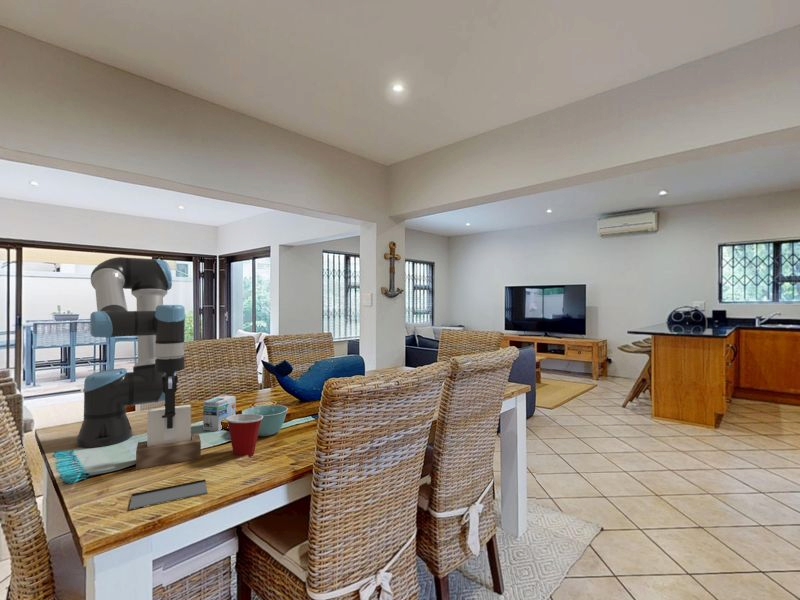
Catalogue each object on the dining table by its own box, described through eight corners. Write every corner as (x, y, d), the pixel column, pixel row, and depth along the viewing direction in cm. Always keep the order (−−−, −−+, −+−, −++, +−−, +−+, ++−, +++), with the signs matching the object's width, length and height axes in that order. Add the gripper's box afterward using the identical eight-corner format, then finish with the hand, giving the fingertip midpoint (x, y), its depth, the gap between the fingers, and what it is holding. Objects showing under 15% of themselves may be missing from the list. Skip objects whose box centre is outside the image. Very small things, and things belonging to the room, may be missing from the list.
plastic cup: (270, 451, 126) (270, 413, 126) (244, 464, 116) (244, 423, 116) (244, 446, 130) (245, 409, 130) (217, 458, 120) (217, 418, 120)
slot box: (135, 473, 110) (136, 451, 110) (137, 462, 117) (137, 442, 117) (200, 461, 118) (200, 441, 118) (198, 452, 125) (198, 433, 125)
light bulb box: (218, 432, 144) (218, 402, 144) (202, 431, 145) (202, 401, 145) (236, 423, 155) (236, 395, 155) (220, 422, 156) (221, 394, 156)
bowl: (233, 433, 143) (233, 410, 143) (272, 423, 155) (272, 402, 155) (255, 443, 133) (256, 418, 133) (296, 432, 145) (296, 409, 145)
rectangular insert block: (147, 464, 113) (147, 411, 113) (147, 461, 116) (147, 409, 116) (190, 456, 119) (191, 406, 119) (190, 453, 121) (190, 404, 121)
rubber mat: (129, 510, 90) (129, 508, 90) (135, 476, 108) (135, 475, 108) (207, 493, 98) (207, 491, 98) (201, 464, 116) (201, 463, 116)
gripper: (185, 360, 111) (185, 443, 111) (183, 352, 127) (182, 425, 127) (154, 362, 107) (153, 448, 107) (155, 354, 123) (155, 428, 123)
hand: (169, 435), depth 117 cm, fingers open, 6 cm apart
